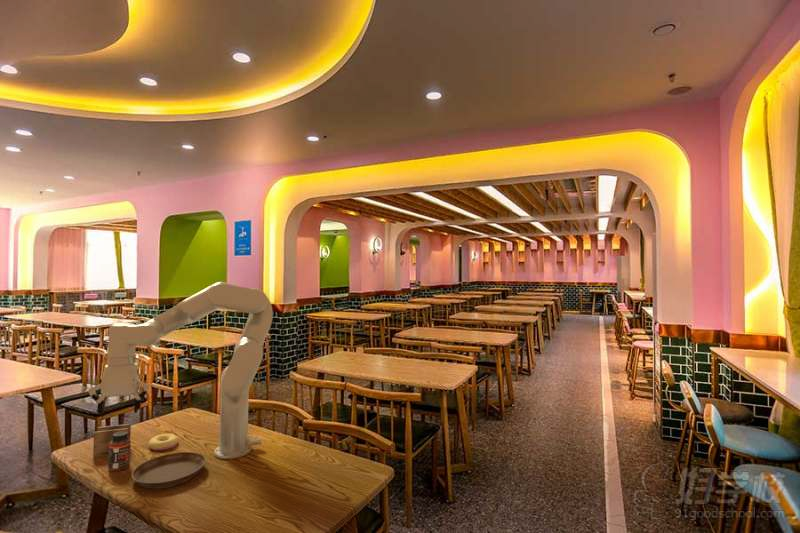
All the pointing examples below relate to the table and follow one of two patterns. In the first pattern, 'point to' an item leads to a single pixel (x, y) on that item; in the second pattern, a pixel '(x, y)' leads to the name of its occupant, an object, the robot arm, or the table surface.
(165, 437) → the donut
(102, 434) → the napkin holder
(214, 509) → the table surface
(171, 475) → the plant saucer
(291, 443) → the table surface
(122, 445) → the supplement bottle
